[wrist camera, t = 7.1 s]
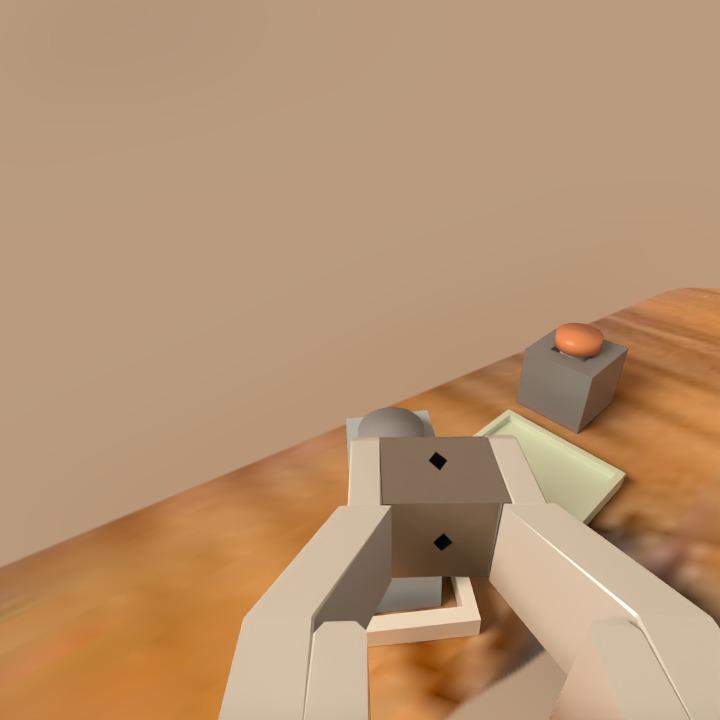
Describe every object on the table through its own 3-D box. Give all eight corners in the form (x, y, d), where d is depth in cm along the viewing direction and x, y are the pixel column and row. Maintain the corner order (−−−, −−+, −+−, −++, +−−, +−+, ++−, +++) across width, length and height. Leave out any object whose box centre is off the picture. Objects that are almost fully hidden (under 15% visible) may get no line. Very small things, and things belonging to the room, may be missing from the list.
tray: (620, 487, 32) (625, 473, 31) (545, 572, 27) (548, 559, 26) (506, 421, 39) (508, 409, 38) (430, 481, 34) (430, 468, 33)
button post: (611, 402, 39) (628, 348, 36) (577, 433, 37) (592, 378, 33) (551, 375, 44) (562, 324, 40) (516, 401, 41) (524, 349, 37)
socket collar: (478, 634, 24) (481, 619, 23) (340, 650, 24) (337, 635, 23) (446, 515, 31) (447, 500, 30) (338, 527, 31) (335, 512, 30)
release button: (596, 386, 39) (611, 332, 36) (575, 404, 37) (589, 349, 34) (559, 370, 41) (570, 319, 38) (538, 386, 39) (547, 333, 36)
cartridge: (440, 606, 26) (446, 457, 19) (369, 614, 26) (347, 468, 19) (426, 540, 30) (427, 395, 22) (364, 547, 30) (344, 404, 22)
